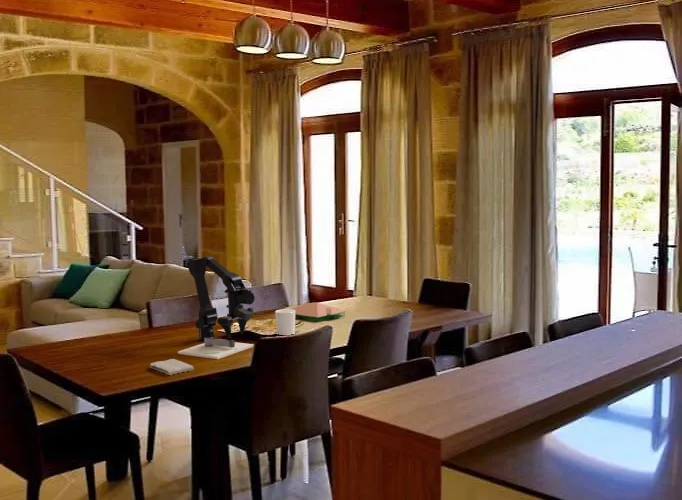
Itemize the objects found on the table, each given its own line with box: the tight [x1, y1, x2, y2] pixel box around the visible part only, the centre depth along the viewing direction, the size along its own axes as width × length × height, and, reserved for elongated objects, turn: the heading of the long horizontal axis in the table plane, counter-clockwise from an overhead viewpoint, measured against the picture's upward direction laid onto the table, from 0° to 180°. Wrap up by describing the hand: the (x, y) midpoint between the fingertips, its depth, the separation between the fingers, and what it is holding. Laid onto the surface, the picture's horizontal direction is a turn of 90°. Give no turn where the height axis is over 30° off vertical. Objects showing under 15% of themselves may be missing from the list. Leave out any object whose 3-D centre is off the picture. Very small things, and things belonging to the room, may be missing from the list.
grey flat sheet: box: [177, 341, 255, 360], centre depth 327 cm, size 23×25×1 cm
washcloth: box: [149, 358, 195, 376], centre depth 296 cm, size 12×18×3 cm, turn 42°
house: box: [290, 301, 347, 321], centre depth 400 cm, size 23×33×8 cm
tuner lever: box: [203, 337, 235, 348], centre depth 328 cm, size 16×4×4 cm, turn 59°
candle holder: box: [275, 308, 296, 335], centre depth 354 cm, size 10×10×12 cm
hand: (235, 335), depth 337 cm, fingers open, 9 cm apart
